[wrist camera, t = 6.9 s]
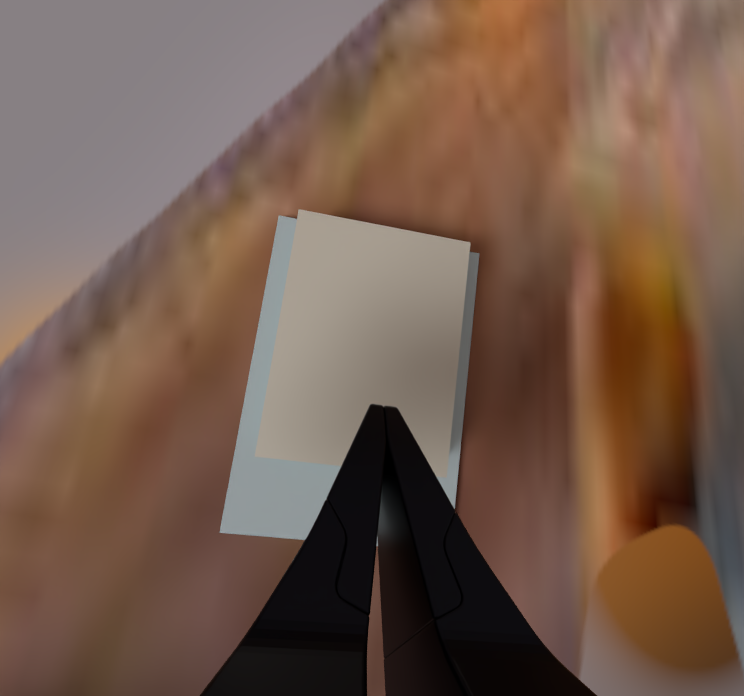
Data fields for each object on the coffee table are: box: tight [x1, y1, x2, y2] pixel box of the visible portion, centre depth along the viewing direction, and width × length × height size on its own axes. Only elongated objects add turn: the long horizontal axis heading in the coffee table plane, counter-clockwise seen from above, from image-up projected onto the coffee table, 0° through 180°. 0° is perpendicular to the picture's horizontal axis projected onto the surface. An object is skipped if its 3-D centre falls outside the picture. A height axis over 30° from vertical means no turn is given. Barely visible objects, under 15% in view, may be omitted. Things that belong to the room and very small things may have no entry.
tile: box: [255, 209, 470, 478], centre depth 16 cm, size 2×9×12 cm
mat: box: [220, 216, 479, 546], centre depth 17 cm, size 17×12×1 cm
